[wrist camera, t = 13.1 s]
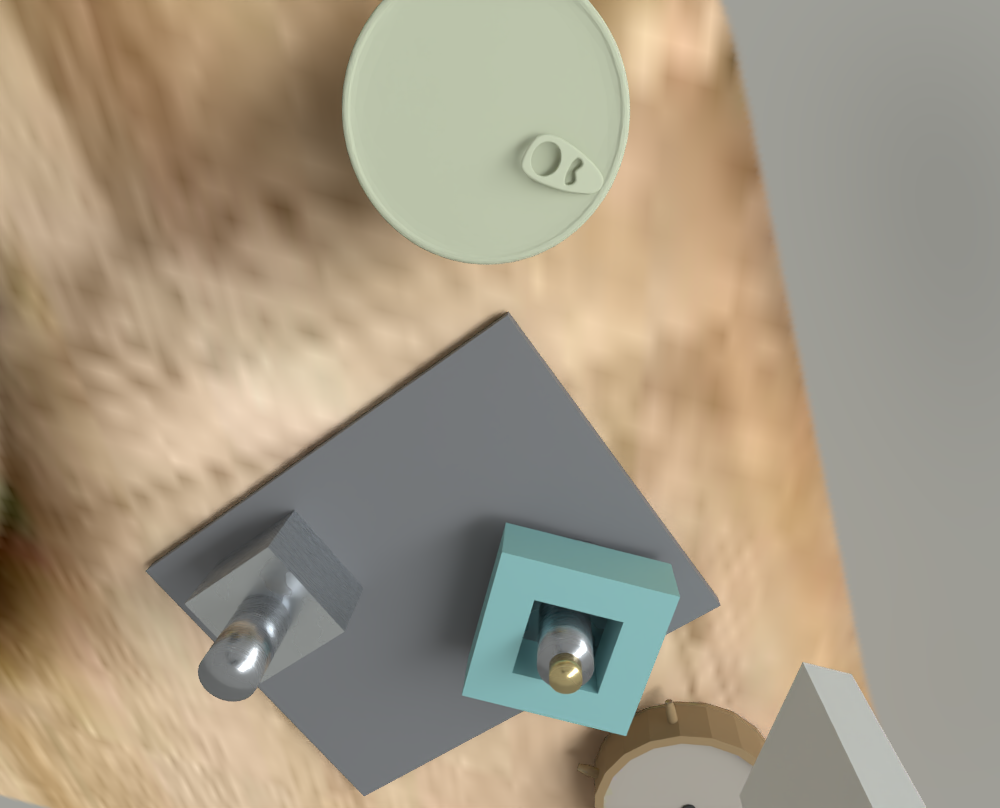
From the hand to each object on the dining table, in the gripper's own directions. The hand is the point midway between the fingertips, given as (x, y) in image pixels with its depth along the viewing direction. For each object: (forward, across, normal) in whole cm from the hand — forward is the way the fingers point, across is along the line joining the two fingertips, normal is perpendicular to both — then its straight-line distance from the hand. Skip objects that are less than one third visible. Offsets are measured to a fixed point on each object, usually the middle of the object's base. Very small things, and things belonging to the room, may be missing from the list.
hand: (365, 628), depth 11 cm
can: (+27, -1, +8) cm, 28 cm away
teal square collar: (+25, +8, -16) cm, 30 cm away
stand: (+26, -8, -18) cm, 33 cm away
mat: (+27, 0, -17) cm, 32 cm away
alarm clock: (+27, +20, -27) cm, 43 cm away
